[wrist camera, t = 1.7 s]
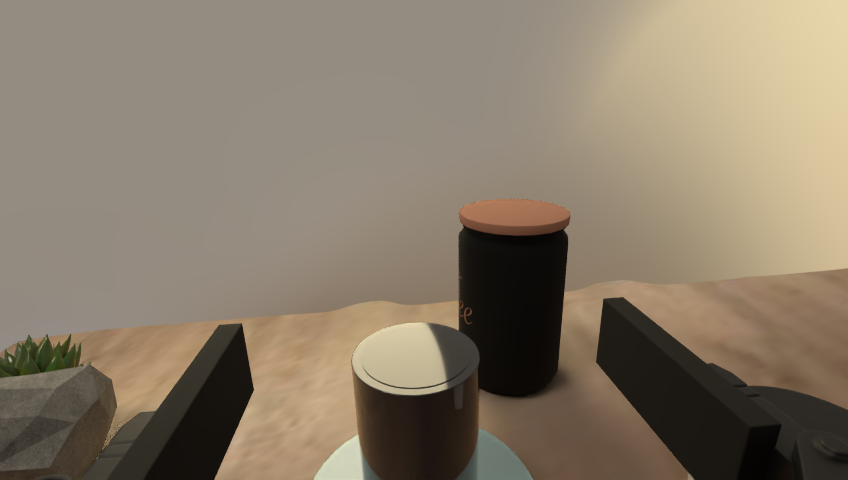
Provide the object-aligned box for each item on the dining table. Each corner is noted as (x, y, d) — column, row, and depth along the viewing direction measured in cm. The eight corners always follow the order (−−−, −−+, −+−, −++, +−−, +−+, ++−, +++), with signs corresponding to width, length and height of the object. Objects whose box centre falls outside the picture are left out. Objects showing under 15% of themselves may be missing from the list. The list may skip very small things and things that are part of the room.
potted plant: (-228, 594, 23) (-99, 386, 35) (49, 573, 32) (82, 411, 43) (-121, 446, 22) (-21, 278, 33) (141, 466, 30) (150, 327, 41)
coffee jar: (477, 335, 54) (479, 195, 48) (565, 354, 49) (578, 203, 43) (443, 383, 45) (440, 218, 39) (546, 413, 40) (560, 231, 34)
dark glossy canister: (465, 449, 34) (466, 317, 31) (489, 547, 27) (494, 388, 23) (366, 459, 34) (354, 326, 30) (363, 562, 26) (346, 401, 22)
